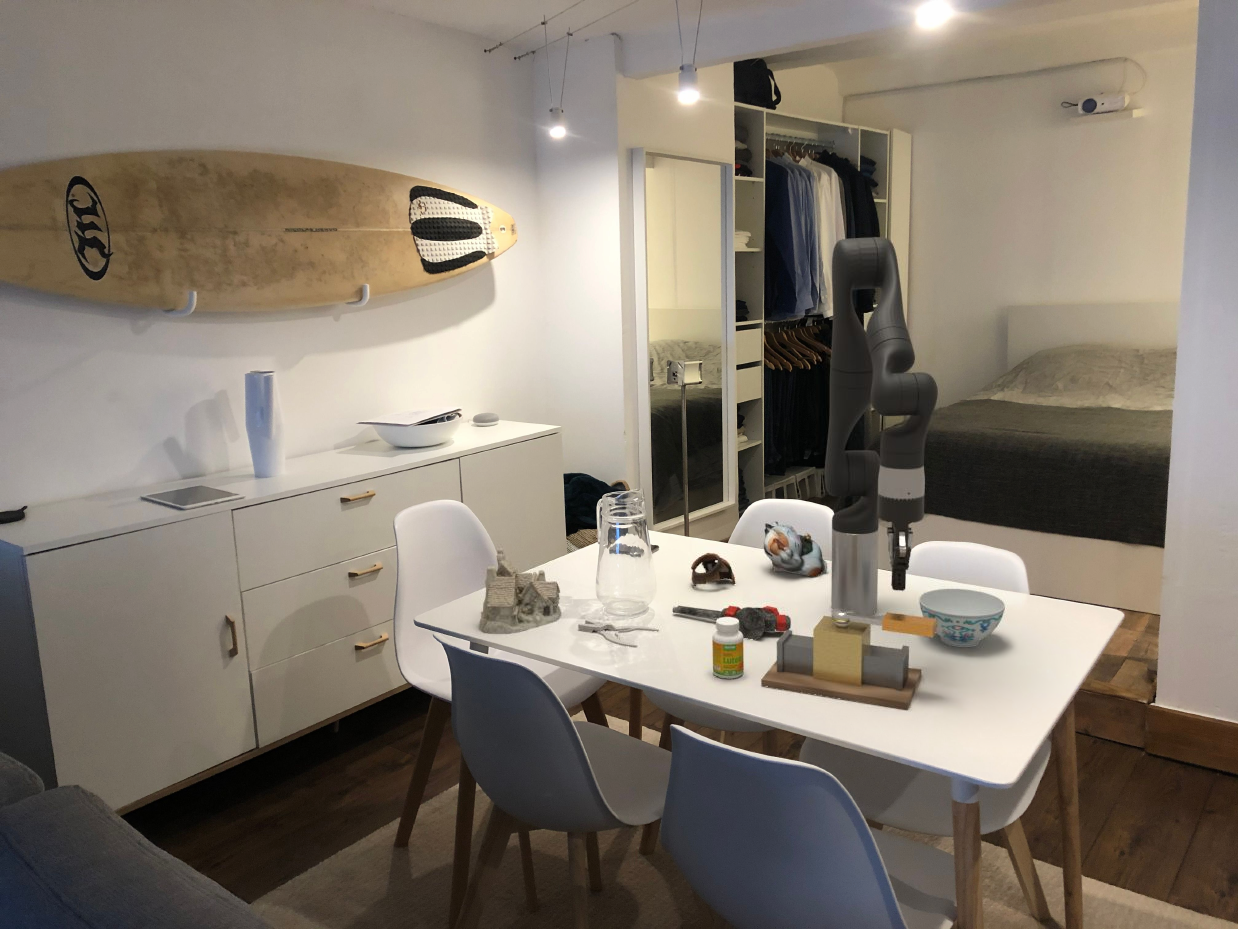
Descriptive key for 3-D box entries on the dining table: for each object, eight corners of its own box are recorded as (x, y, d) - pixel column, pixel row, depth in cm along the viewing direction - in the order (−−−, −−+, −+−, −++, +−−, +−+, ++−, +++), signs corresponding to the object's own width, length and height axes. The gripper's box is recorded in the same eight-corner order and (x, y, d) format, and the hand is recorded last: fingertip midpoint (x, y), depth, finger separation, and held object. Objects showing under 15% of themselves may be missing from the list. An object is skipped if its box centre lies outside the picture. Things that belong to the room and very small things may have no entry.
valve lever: (828, 622, 158) (828, 611, 158) (834, 616, 161) (835, 604, 161) (932, 637, 150) (932, 626, 150) (936, 630, 153) (937, 618, 153)
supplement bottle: (722, 682, 162) (721, 628, 160) (707, 670, 167) (706, 618, 165) (749, 675, 164) (749, 622, 162) (733, 665, 169) (733, 613, 167)
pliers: (635, 641, 179) (568, 629, 186) (635, 649, 179) (569, 637, 186) (659, 624, 187) (594, 613, 194) (659, 632, 187) (595, 621, 195)
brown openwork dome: (743, 590, 211) (729, 563, 207) (706, 610, 211) (691, 584, 208) (728, 562, 222) (714, 536, 218) (692, 581, 222) (678, 556, 218)
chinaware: (941, 620, 187) (942, 583, 185) (1017, 639, 176) (1018, 599, 175) (903, 642, 177) (904, 603, 175) (981, 663, 166) (982, 621, 165)
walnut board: (785, 656, 172) (785, 649, 172) (921, 676, 162) (921, 669, 161) (761, 686, 160) (761, 679, 160) (907, 709, 149) (907, 702, 149)
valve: (811, 632, 189) (778, 645, 177) (699, 616, 204) (661, 627, 192) (811, 600, 189) (778, 612, 177) (699, 587, 204) (662, 596, 192)
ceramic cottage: (468, 631, 190) (469, 559, 187) (500, 607, 206) (501, 540, 203) (541, 641, 186) (543, 568, 183) (568, 616, 202) (570, 548, 199)
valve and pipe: (787, 660, 168) (787, 606, 166) (908, 678, 159) (910, 621, 157) (776, 675, 162) (775, 619, 160) (901, 695, 153) (902, 636, 151)
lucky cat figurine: (832, 577, 216) (811, 531, 210) (783, 597, 218) (761, 552, 212) (818, 542, 229) (798, 498, 223) (772, 561, 231) (751, 518, 225)
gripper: (928, 501, 152) (925, 603, 155) (920, 482, 164) (917, 576, 168) (880, 501, 153) (878, 601, 157) (875, 481, 166) (873, 575, 169)
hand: (898, 588), depth 162 cm, fingers closed
